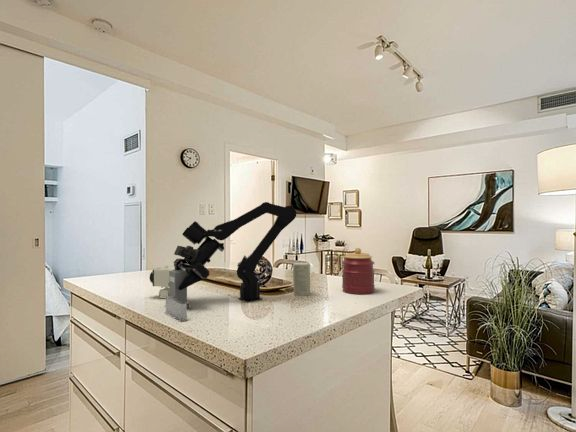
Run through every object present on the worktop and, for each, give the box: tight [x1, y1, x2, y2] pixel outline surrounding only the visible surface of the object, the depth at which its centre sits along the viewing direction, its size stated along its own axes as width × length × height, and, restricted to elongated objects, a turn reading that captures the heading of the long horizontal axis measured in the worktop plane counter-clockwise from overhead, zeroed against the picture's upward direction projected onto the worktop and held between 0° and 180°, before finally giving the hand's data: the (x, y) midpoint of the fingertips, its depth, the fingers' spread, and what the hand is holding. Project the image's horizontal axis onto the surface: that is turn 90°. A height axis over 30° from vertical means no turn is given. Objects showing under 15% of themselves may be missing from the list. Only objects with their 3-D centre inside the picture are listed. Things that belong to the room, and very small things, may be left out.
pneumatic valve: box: [149, 265, 175, 300], centre depth 126 cm, size 6×12×12 cm, turn 78°
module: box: [169, 270, 188, 304], centre depth 112 cm, size 4×6×12 cm
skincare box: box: [292, 262, 311, 296], centre depth 130 cm, size 6×4×12 cm
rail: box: [165, 296, 191, 322], centre depth 101 cm, size 3×13×5 cm, turn 39°
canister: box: [341, 247, 376, 295], centre depth 134 cm, size 13×13×18 cm
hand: (174, 287), depth 111 cm, fingers open, 9 cm apart
